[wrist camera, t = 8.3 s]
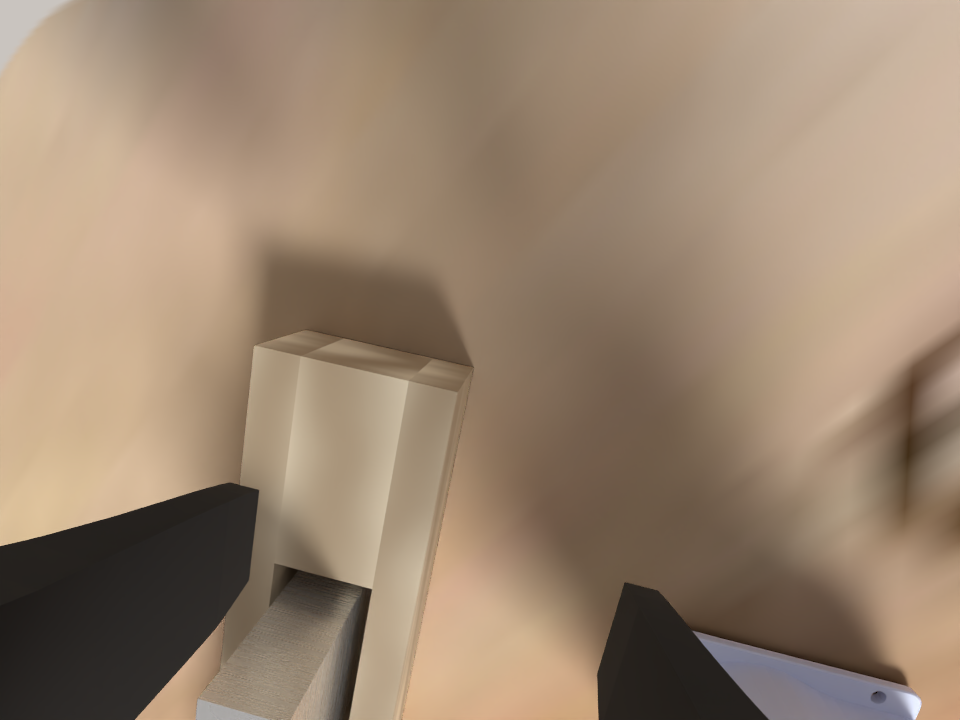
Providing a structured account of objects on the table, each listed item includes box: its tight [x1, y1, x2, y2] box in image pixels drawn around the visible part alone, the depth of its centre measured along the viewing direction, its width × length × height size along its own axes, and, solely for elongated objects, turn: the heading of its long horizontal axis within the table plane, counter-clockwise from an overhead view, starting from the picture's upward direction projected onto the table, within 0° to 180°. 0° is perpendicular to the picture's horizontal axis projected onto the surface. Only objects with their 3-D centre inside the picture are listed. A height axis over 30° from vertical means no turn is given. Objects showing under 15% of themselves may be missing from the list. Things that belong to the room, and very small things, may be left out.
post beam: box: [220, 330, 474, 720], centre depth 19 cm, size 6×22×4 cm, turn 169°
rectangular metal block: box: [196, 570, 372, 720], centre depth 17 cm, size 2×6×8 cm, turn 169°
